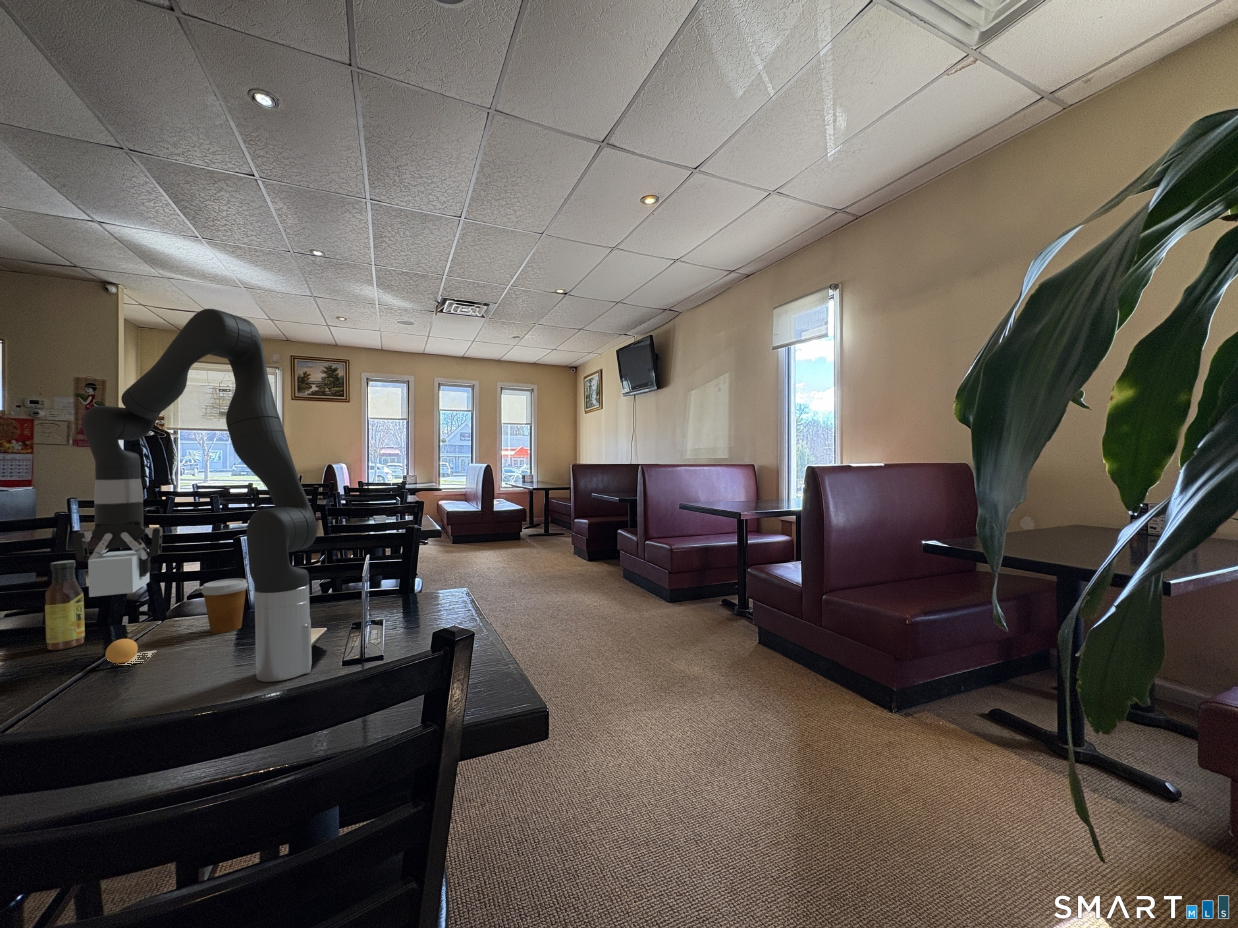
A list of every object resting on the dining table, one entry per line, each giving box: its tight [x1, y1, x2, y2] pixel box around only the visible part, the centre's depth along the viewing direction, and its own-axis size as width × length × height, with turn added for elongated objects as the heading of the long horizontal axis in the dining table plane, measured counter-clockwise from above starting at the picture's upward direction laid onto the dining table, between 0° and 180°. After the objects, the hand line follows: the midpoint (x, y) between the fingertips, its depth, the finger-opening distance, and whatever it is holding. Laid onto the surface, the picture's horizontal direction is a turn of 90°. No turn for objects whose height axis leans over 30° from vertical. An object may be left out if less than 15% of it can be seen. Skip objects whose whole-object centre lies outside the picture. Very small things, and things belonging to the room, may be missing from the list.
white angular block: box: [87, 548, 150, 598], centre depth 112 cm, size 7×11×7 cm, turn 28°
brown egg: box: [105, 638, 139, 664], centre depth 112 cm, size 5×5×5 cm
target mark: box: [114, 649, 157, 666], centre depth 113 cm, size 8×8×1 cm
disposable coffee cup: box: [201, 578, 249, 634], centre depth 133 cm, size 10×10×12 cm
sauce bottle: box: [44, 559, 86, 651], centre depth 122 cm, size 7×6×20 cm
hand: (120, 577), depth 112 cm, fingers closed on white angular block, 6 cm apart
